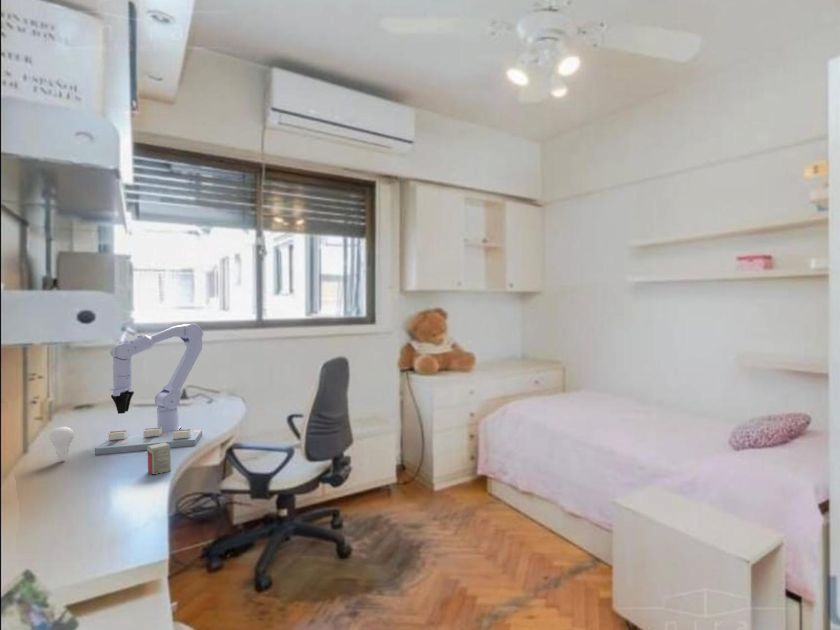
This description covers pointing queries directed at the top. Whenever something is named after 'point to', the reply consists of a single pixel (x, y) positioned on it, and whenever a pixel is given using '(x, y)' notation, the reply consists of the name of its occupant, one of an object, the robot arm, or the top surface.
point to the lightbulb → (62, 441)
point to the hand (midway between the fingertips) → (123, 412)
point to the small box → (159, 458)
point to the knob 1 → (118, 434)
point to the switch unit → (146, 442)
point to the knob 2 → (152, 431)
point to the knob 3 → (181, 433)
